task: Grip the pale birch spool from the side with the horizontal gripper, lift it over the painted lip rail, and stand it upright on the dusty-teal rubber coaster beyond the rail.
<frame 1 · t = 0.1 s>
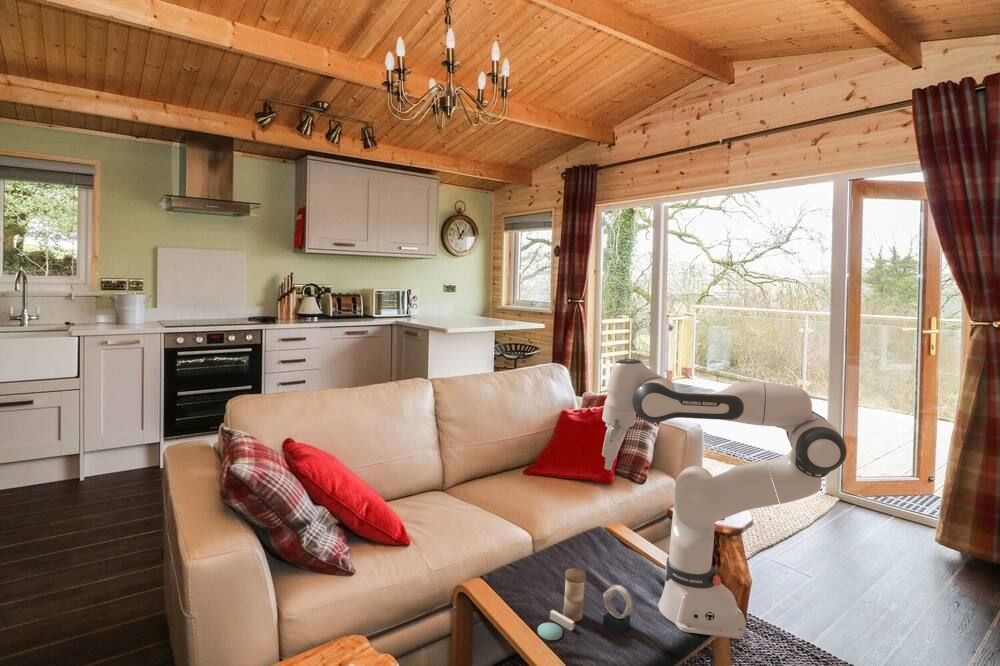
hand: (610, 463, 159), 39 cm above the ottoman, tool pointing down, fingers open, 8 cm apart
spool: (572, 615, 153), on the ottoman
coaster: (550, 632, 145), on the ottoman
watch: (615, 627, 149), on the ottoman
lip rail: (561, 623, 149), on the ottoman
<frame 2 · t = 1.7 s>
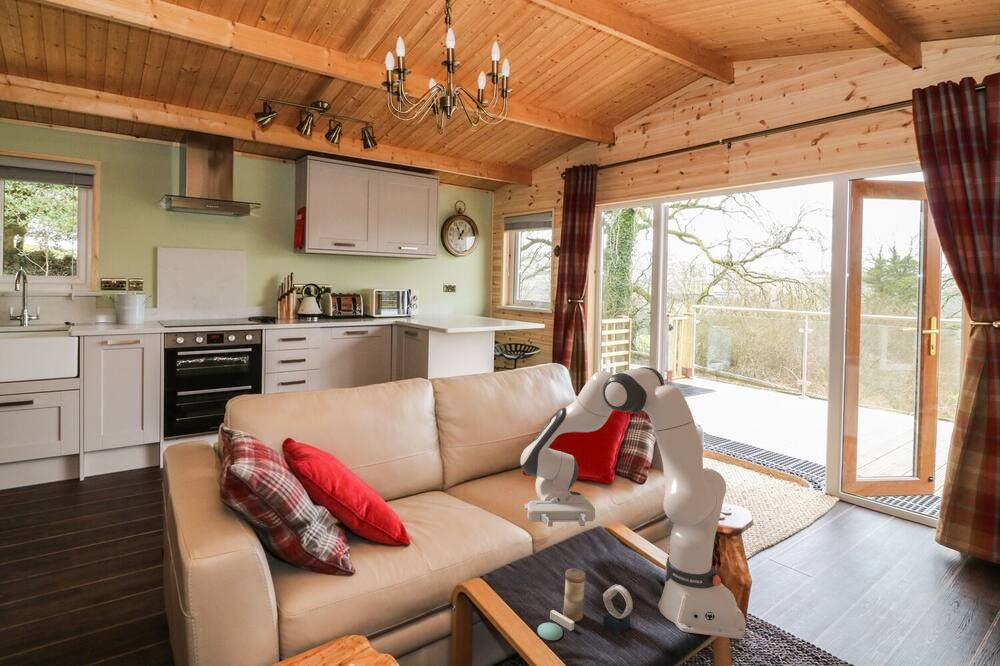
hand: (566, 524, 162), 20 cm above the ottoman, tool horizontal, fingers open, 8 cm apart
nothing on the ottoman moved.
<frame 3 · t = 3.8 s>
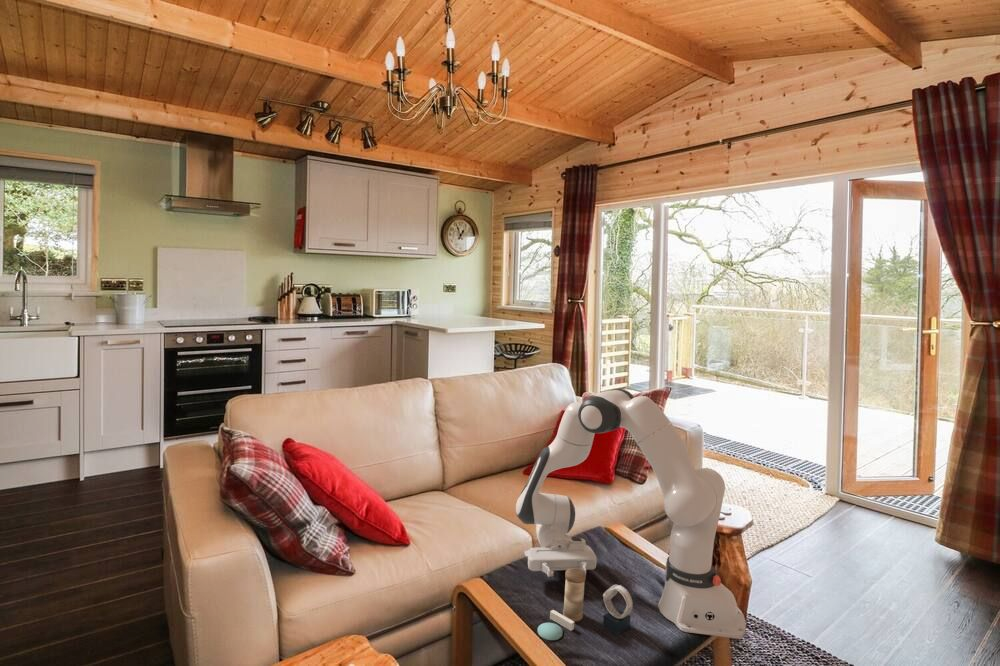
hand: (567, 573, 160), 7 cm above the ottoman, tool horizontal, fingers open, 8 cm apart
nothing on the ottoman moved.
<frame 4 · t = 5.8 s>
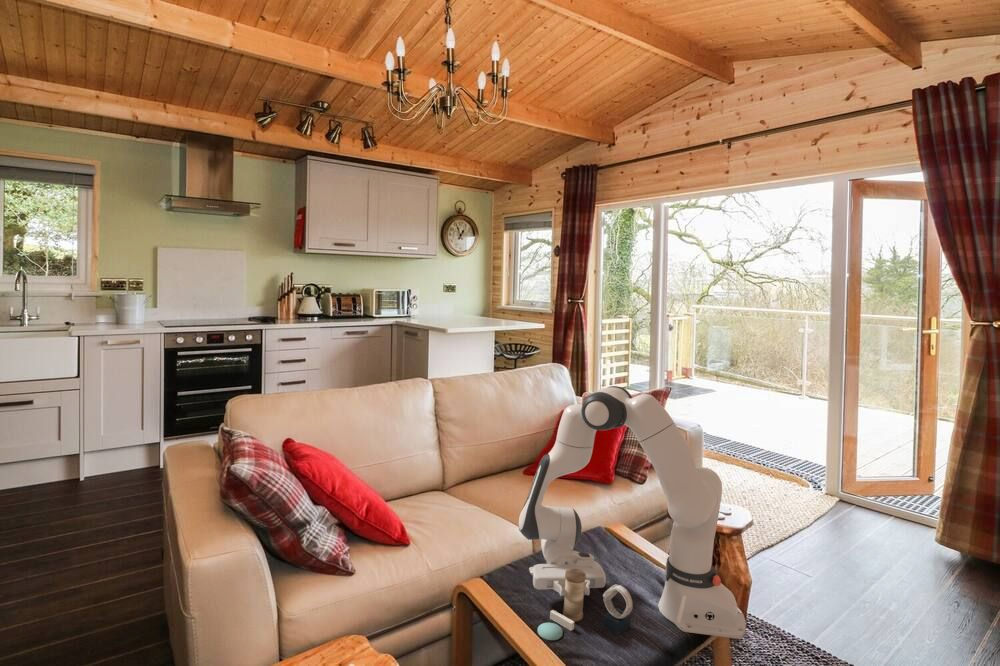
hand: (575, 593, 151), 7 cm above the ottoman, tool horizontal, fingers closed on spool, 5 cm apart
spool: (572, 615, 153), on the ottoman, touching gripper
everything else where it was.
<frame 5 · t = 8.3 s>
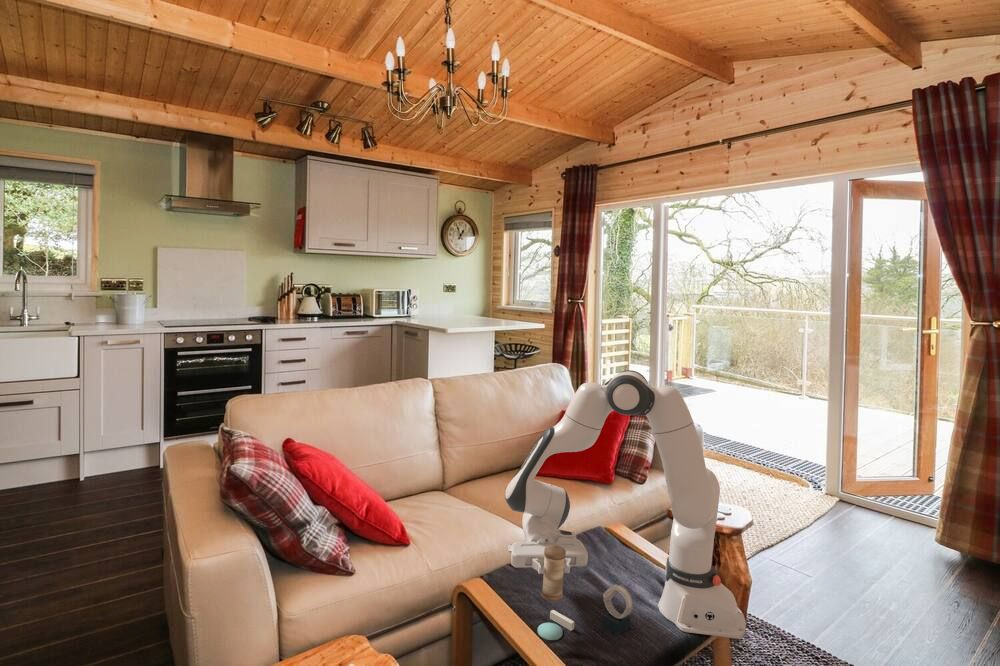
hand: (554, 571, 143), 17 cm above the ottoman, tool horizontal, fingers closed on spool, 5 cm apart
spool: (552, 594, 144), point 10 cm above the ottoman, touching gripper
everything else where it was.
when the fingers open (8 cm above the ottoman, at t = 10.8 s): spool stays where it is, resting on coaster.
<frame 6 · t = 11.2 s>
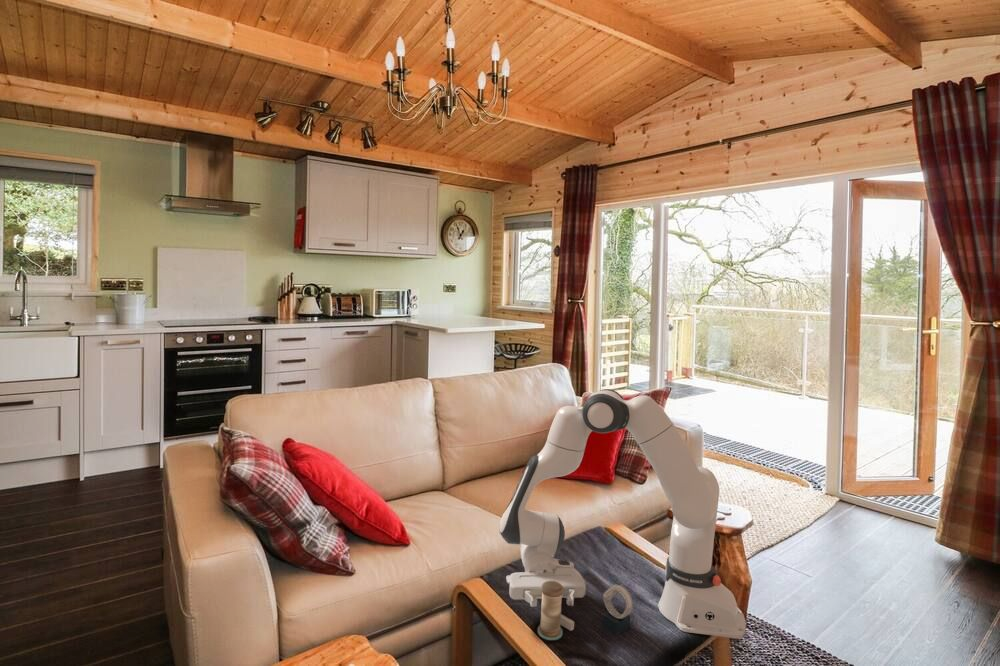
hand: (552, 603, 143), 8 cm above the ottoman, tool horizontal, fingers open, 8 cm apart
spool: (549, 630, 145), resting on coaster
everything else where it was.
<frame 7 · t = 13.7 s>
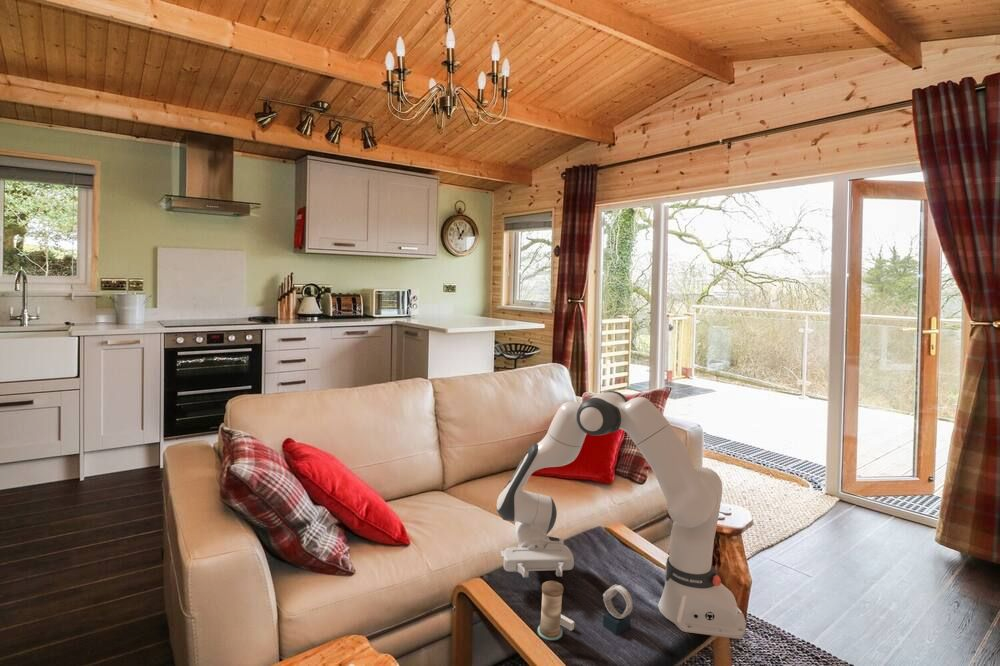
hand: (542, 574, 156), 9 cm above the ottoman, tool horizontal, fingers open, 8 cm apart
nothing on the ottoman moved.
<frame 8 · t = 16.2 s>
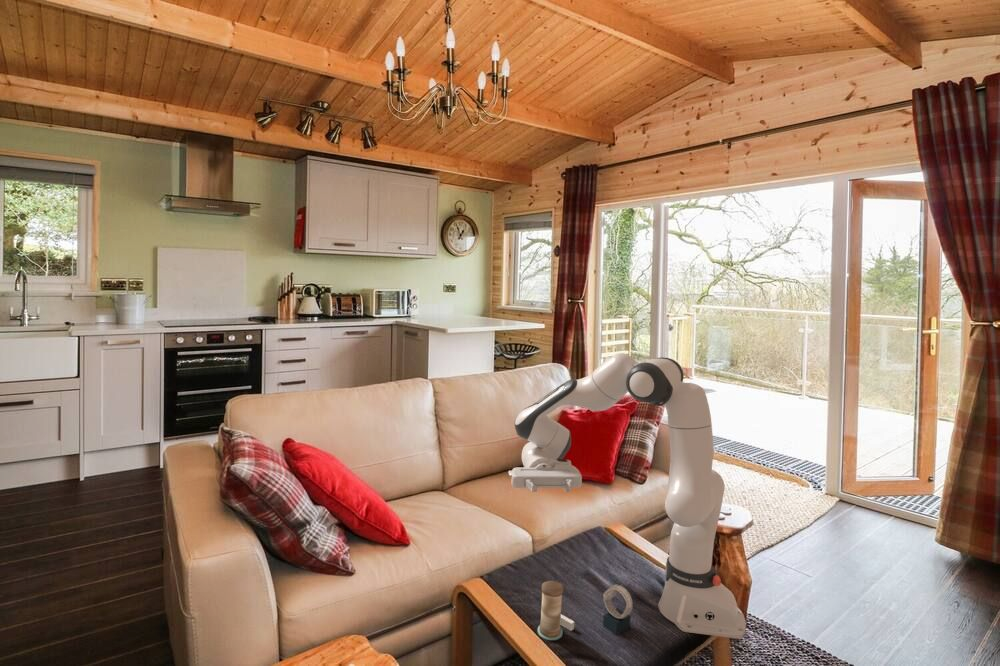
hand: (551, 489, 156), 32 cm above the ottoman, tool horizontal, fingers open, 8 cm apart
nothing on the ottoman moved.
at the end: spool 0.1 cm from the coaster (horizontally); spool tilted 0°; the gripper is holding nothing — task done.
